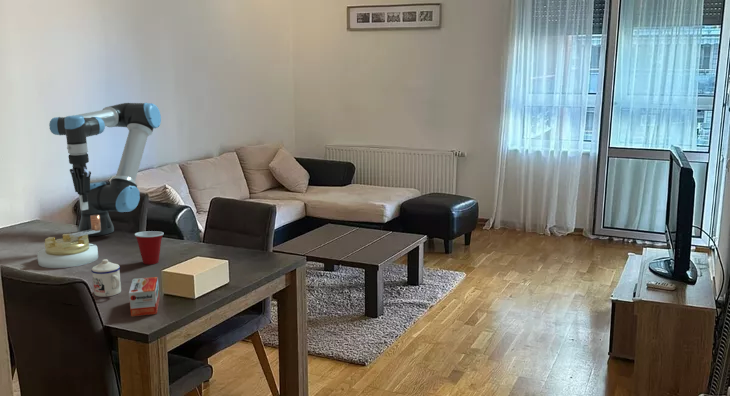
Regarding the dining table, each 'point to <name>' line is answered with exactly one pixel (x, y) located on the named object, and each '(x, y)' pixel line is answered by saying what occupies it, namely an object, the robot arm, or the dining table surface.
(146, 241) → the plastic cup
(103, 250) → the dining table surface
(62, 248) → the ring nut
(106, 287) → the teacup with lid
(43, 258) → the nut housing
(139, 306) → the medicine box
